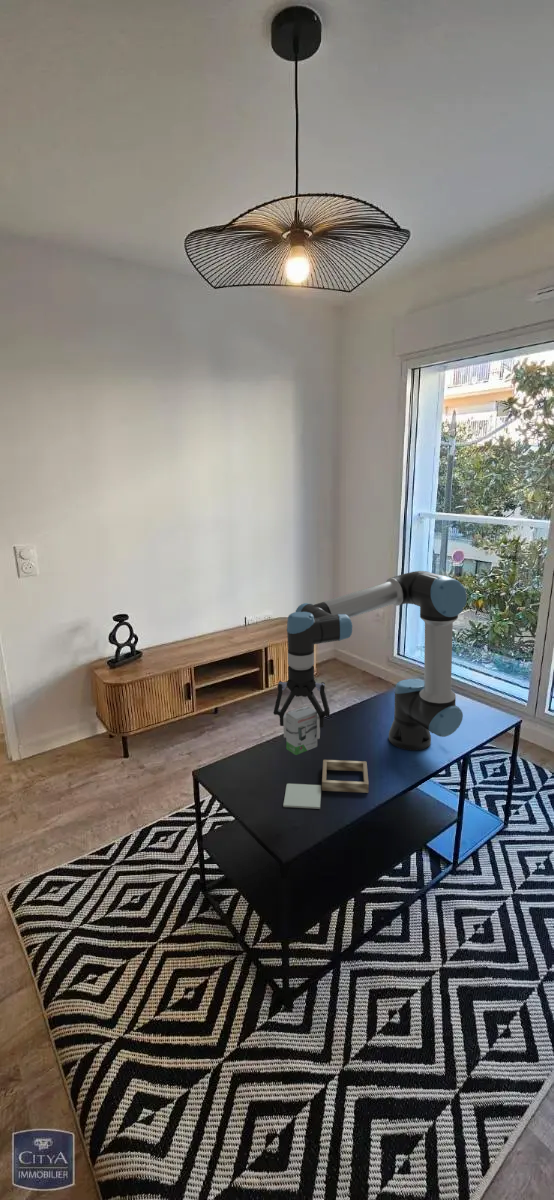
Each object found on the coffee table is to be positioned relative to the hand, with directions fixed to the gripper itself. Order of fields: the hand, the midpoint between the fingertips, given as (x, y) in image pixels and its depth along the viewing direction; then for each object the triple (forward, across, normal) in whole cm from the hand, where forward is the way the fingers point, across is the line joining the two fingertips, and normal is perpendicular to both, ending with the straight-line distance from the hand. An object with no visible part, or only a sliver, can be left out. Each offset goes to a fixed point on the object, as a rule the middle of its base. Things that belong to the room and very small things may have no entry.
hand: (301, 735), depth 154 cm
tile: (+21, 0, 0) cm, 21 cm away
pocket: (+21, -13, -10) cm, 26 cm away
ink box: (+4, 0, 0) cm, 4 cm away
